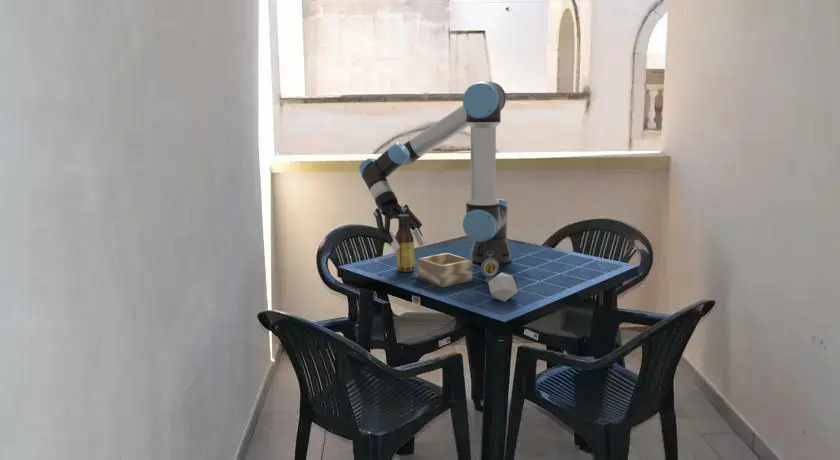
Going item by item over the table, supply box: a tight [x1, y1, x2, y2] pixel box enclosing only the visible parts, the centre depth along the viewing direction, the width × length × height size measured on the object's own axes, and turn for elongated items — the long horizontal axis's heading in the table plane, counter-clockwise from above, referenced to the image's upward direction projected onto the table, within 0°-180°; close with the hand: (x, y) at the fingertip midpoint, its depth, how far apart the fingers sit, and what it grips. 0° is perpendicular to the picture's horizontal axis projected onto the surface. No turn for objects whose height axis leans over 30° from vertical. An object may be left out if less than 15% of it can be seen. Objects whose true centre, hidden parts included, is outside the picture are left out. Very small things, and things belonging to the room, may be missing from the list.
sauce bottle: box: [395, 214, 416, 273], centre depth 236 cm, size 7×6×20 cm
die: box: [487, 272, 519, 303], centre depth 205 cm, size 8×9×10 cm
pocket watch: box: [480, 251, 500, 284], centre depth 223 cm, size 8×8×10 cm
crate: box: [417, 252, 473, 288], centre depth 226 cm, size 13×13×7 cm
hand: (410, 247), depth 233 cm, fingers open, 10 cm apart
